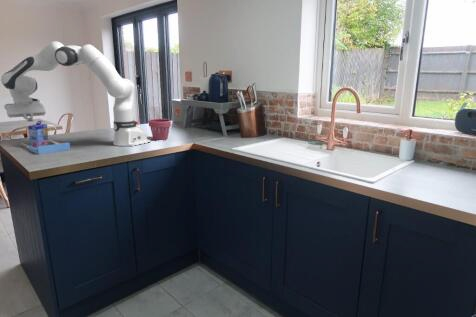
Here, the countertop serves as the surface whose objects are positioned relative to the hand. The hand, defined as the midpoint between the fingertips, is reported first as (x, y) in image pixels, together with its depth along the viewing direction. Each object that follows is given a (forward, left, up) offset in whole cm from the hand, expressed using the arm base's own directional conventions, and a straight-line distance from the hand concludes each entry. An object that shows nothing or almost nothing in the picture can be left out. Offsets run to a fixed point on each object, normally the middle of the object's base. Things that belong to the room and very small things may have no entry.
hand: (30, 120), depth 198 cm
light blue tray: (0, +20, -13) cm, 24 cm away
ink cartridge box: (0, +12, -13) cm, 18 cm away
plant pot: (-62, +44, -13) cm, 77 cm away
